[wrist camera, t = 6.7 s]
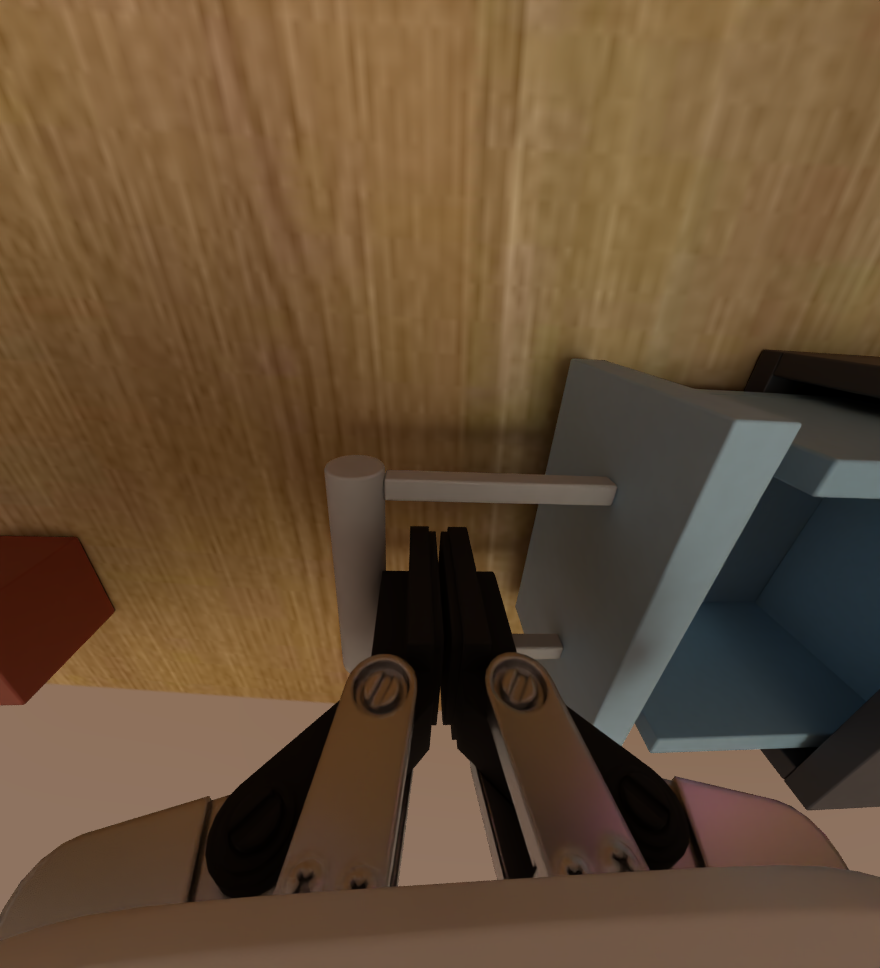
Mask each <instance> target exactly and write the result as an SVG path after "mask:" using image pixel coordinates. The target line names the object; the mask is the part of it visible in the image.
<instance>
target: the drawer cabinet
mask: <svg viewBox="0 0 880 968" xmlns="http://www.w3.org/2000/svg"><path fill="white" fill-rule="evenodd" d="M744 392H761V393H780V394H798V395H816V396H835V397H853V398H871V399H880V357H872V356H857V355H842V354H827V353H811V352H796V351H781V350H766V349H765V350H763V351H762V353H761V356H760V358H759V360H758V362H757V364H756V366H755V369H754V371H753V373H752V375H751V377H750V379H749V382H748V384H747V386H746V388H745V390H744ZM760 750H761V751H762V752H763V754H764V755H765V756H766V757H767V759H768V760H769V761H770V763H771V764H772V765H773V767H774V768H775V769H776V771H777V772H778V773H779V774H780V776H781V777H782V778H783V779H785V780H784V781H785V783H786V784H787V785H788V786H789V788H790V789H791V790H792V792H793V793H794V794H795V796H796V797H797V798H798V800H799V801H800V802H801V803H802V804H803V806H804V807H805V809H806V810H825V809H844V808H863V807H880V689H879V690H878V691H877V692H876V693H875V694H874V695H873V696H872V697H871V698H870V699H868V700H867V701H866V702H865V703H864V704H863V705H862V706H861V707H860V708H859V709H858V710H857V711H856V712H855V713H854V714H853V715H852V716H851V717H850V718H849V719H848V720H846V721H845V722H844V723H843V724H842V725H841V726H840V727H839V728H838V729H837V730H836V731H835V732H834V733H833V734H832V735H831V736H830V737H829V738H828V739H827V740H826V741H824V742H823V743H822V744H821V745H820V746H819V747H805V748H778V749H760Z"/></svg>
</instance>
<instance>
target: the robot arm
mask: <svg viewBox="0 0 880 968" xmlns="http://www.w3.org/2000/svg"><path fill="white" fill-rule="evenodd" d="M440 688H441V705H442V720H443V725H451V733H452V740H457V748H458V749H459V750H460V751H461V752H462V753H463V754H464V755H465V756H466V757H467V758H468V759H469V760H470V768H471V773H472V777H473V781H474V786H475V790H476V794H477V798H478V802H479V806H480V810H481V815H482V819H483V823H484V827H485V831H486V835H487V839H488V844H489V847H490V852H491V856H492V860H493V864H494V869H495V873H496V876H497V880H492V881H476V882H462V883H461V882H460V883H446V884H432V885H414V886H399V887H398V881H399V874H400V866H401V858H402V851H403V844H404V836H405V829H406V821H407V814H408V807H409V799H410V791H411V784H412V776H413V768H414V767H415V766H416V765H417V763H418V762H419V761H420V760H421V759H422V757H423V756H424V755H425V753H426V752H427V751H428V750H429V747H430V736H431V725H436V724H437V714H438V704H439V694H440ZM0 968H880V877H877V876H874V875H869V874H865V873H862V872H858V871H851V870H849V869H848V868H847V866H846V864H845V863H844V861H843V859H842V857H841V856H840V854H839V853H838V851H837V850H836V849H835V847H834V846H833V845H832V843H831V842H830V841H829V839H828V838H827V836H826V835H825V834H824V833H823V832H822V831H821V830H820V829H819V828H818V827H817V826H816V825H815V824H814V823H813V822H812V821H811V820H810V819H809V818H807V817H806V816H805V815H803V814H802V813H800V812H799V811H797V810H796V809H795V808H793V807H792V806H790V805H787V804H785V803H782V802H780V801H777V800H774V799H770V798H766V797H761V796H756V795H753V794H748V793H744V792H740V791H736V790H731V789H727V788H723V787H718V786H714V785H710V784H706V783H702V782H697V781H693V780H689V779H684V778H680V777H676V776H675V777H674V778H673V779H672V781H671V780H667V779H663V778H661V777H660V776H659V775H658V774H657V773H656V772H655V771H654V770H652V769H651V768H650V767H649V766H647V765H646V764H644V763H643V762H641V761H640V760H639V759H638V758H636V757H635V756H634V755H632V754H631V753H630V752H628V751H627V750H626V749H624V748H623V747H622V746H620V745H619V744H618V743H616V742H615V741H614V740H612V739H611V738H610V737H608V736H607V735H606V734H604V733H603V732H601V731H600V730H599V729H597V728H596V727H595V726H593V725H592V724H591V723H589V722H588V721H587V720H585V719H584V718H583V717H581V716H580V715H579V714H577V713H576V712H575V711H573V710H572V709H571V708H569V707H568V706H567V705H565V703H564V701H563V699H562V697H561V695H560V693H559V691H558V689H557V687H556V685H555V683H554V681H553V680H552V678H551V676H550V675H549V673H548V672H547V670H546V669H545V668H544V667H543V666H542V665H541V664H540V663H539V662H538V661H537V660H535V659H533V658H531V657H529V656H528V655H524V654H521V653H517V651H516V647H515V644H514V640H513V637H512V633H511V630H510V626H509V623H508V619H507V615H506V612H505V608H504V605H503V601H502V598H501V594H500V591H499V587H498V584H497V580H496V577H495V574H494V573H493V572H476V567H475V563H474V558H473V553H472V549H471V544H470V540H469V535H468V531H467V528H466V527H448V529H447V532H441V535H440V548H439V562H438V555H437V542H436V532H435V531H429V527H428V526H410V555H409V571H382V576H381V584H380V592H379V599H378V607H377V615H376V622H375V630H374V638H373V646H372V653H371V657H368V658H367V659H365V660H363V661H362V662H360V663H359V664H358V665H357V666H356V667H355V668H354V669H353V670H352V671H351V673H350V675H349V677H348V679H347V681H346V684H345V687H344V690H343V693H342V695H341V698H340V700H339V701H338V702H337V703H336V704H335V705H333V706H332V707H331V708H330V709H329V710H328V711H327V712H325V713H324V714H323V715H322V716H321V717H319V718H318V719H317V720H316V721H315V722H314V723H312V724H311V725H310V726H309V727H308V728H306V729H305V730H304V731H303V732H302V733H301V734H299V735H298V736H297V737H296V738H295V739H294V740H292V741H291V742H290V743H289V744H288V745H286V746H285V747H284V748H283V749H282V750H281V751H279V752H278V753H277V754H276V755H275V756H274V757H272V758H271V759H270V760H269V761H268V762H267V763H265V764H264V765H263V766H262V767H261V768H260V769H258V770H257V771H256V772H255V773H254V774H253V775H251V776H250V777H249V778H248V779H247V780H245V781H244V782H243V783H242V784H241V785H240V786H239V787H238V788H237V789H236V790H235V791H234V792H233V793H232V794H231V795H228V796H225V797H221V798H218V799H215V800H211V798H210V796H207V797H204V798H201V799H197V800H194V801H191V802H188V803H184V804H181V805H178V806H174V807H171V808H168V809H164V810H161V811H158V812H154V813H151V814H148V815H144V816H141V817H138V818H134V819H131V820H128V821H125V822H121V823H118V824H115V825H111V826H108V827H105V828H102V829H98V830H95V831H91V832H88V833H85V834H82V835H80V836H78V837H76V838H73V839H72V840H69V841H67V842H65V843H63V844H61V845H60V846H59V847H57V848H56V849H55V850H53V851H52V852H51V853H50V854H48V855H47V856H46V857H44V858H43V859H42V860H41V861H40V862H39V863H38V864H37V865H36V866H35V867H34V868H33V869H32V870H31V871H30V872H29V873H28V875H26V877H25V878H24V879H23V880H22V881H21V882H20V884H19V885H18V887H17V888H16V890H15V891H14V893H13V894H12V896H11V897H10V899H9V900H8V902H7V904H6V905H5V907H4V909H3V911H2V913H1V914H0Z"/></svg>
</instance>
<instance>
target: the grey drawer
mask: <svg viewBox="0 0 880 968" xmlns="http://www.w3.org/2000/svg"><path fill="white" fill-rule="evenodd" d="M324 471H325V482H326V492H327V502H328V512H329V522H330V532H331V542H332V552H333V563H334V573H335V583H336V593H337V603H338V613H339V623H340V633H341V643H342V654H343V663H344V667H345V668H346V670H347V671H348V672H349V673H351V671H352V670H353V669H354V668H355V667H356V666H357V665H358V664H359V663H360V662H362V661H363V660H365V659H367V658H368V657H371V653H372V646H373V638H374V630H375V622H376V615H377V607H378V599H379V592H380V584H381V576H382V571H386V538H385V500H396V501H436V502H476V503H516V504H538V509H537V513H536V518H535V522H534V527H533V531H532V535H531V540H530V544H529V549H528V553H527V558H526V562H525V567H524V571H523V575H522V580H521V584H520V589H519V593H518V598H517V602H516V610H517V613H518V616H519V619H520V622H521V625H522V628H523V631H524V634H512V637H513V640H514V644H515V647H516V651H517V653H521V654H524V655H528V656H529V657H531V658H533V659H535V660H537V661H538V662H539V663H540V664H541V665H542V666H543V667H544V668H545V669H546V670H547V672H548V673H549V675H550V676H551V678H552V680H553V681H554V683H555V685H556V687H557V689H558V691H559V693H560V695H561V697H562V699H563V701H564V703H565V705H567V706H568V707H569V708H571V709H572V710H573V711H575V712H576V713H577V714H579V715H580V716H581V717H583V718H584V719H585V720H587V721H588V722H589V723H591V724H592V725H593V726H595V727H596V728H597V729H599V730H600V731H601V732H603V733H604V734H606V735H607V736H608V737H610V738H611V739H612V740H614V741H615V742H616V743H618V744H619V745H620V746H622V744H623V743H624V740H625V739H626V737H627V735H628V734H629V732H630V730H631V728H632V727H633V725H634V723H635V724H636V727H637V728H638V730H639V732H640V734H641V736H642V738H643V740H644V742H645V744H646V746H647V748H648V750H649V752H650V753H666V752H691V751H692V752H693V751H720V750H747V749H748V750H749V749H778V748H805V747H819V746H820V745H821V744H822V743H823V742H824V741H826V740H827V739H828V738H829V737H830V736H831V735H832V734H833V733H834V732H835V731H836V730H837V729H838V728H839V727H840V726H841V725H842V724H843V723H844V722H845V721H846V720H848V719H849V718H850V717H851V716H852V715H853V714H854V713H855V712H856V711H857V710H858V709H859V708H860V707H861V706H862V705H863V704H864V703H865V702H866V701H867V700H868V699H870V698H871V697H872V696H873V695H874V694H875V693H876V692H877V691H878V690H879V689H880V399H871V398H853V397H835V396H816V395H798V394H780V393H761V392H743V391H725V390H706V389H693V388H690V387H687V386H684V385H681V384H678V383H674V382H671V381H668V380H665V379H662V378H659V377H655V376H652V375H649V374H646V373H643V372H640V371H636V370H633V369H630V368H627V367H624V366H621V365H617V364H614V363H611V362H608V361H605V360H590V359H571V362H570V367H569V371H568V376H567V380H566V385H565V389H564V393H563V398H562V402H561V407H560V411H559V416H558V420H557V425H556V429H555V433H554V438H553V442H552V447H551V451H550V456H549V460H548V464H547V469H546V473H545V475H535V474H504V473H473V472H442V471H410V470H387V471H386V473H385V467H384V464H383V463H382V462H381V461H380V460H379V459H377V458H374V457H370V456H365V455H348V456H342V457H338V458H336V459H333V460H331V461H330V462H328V463H327V464H326V466H325V469H324Z"/></svg>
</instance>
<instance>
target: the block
mask: <svg viewBox="0 0 880 968" xmlns="http://www.w3.org/2000/svg"><path fill="white" fill-rule="evenodd" d="M114 612H115V610H114V608H113V606H112V604H111V602H110V600H109V599H108V597H107V595H106V593H105V591H104V589H103V587H102V585H101V583H100V581H99V579H98V577H97V575H96V573H95V571H94V569H93V567H92V565H91V563H90V561H89V559H88V557H87V555H86V553H85V551H84V550H83V548H82V546H81V544H80V542H79V540H78V538H77V537H38V536H0V705H24V704H26V703H27V702H28V701H29V699H31V697H32V696H33V695H34V694H35V693H36V692H37V691H38V690H39V689H40V688H41V687H42V686H43V685H44V684H45V683H46V682H47V681H48V680H49V679H50V678H51V677H52V676H53V675H54V674H55V673H56V672H57V671H58V670H59V669H60V668H61V667H62V666H63V665H64V664H65V663H66V661H67V660H68V659H69V658H70V657H71V656H72V655H73V654H74V653H75V652H76V651H77V650H78V649H79V648H80V647H81V646H82V645H83V644H84V643H85V642H86V641H87V640H88V639H89V638H90V637H91V636H92V635H93V634H94V633H95V632H96V631H97V630H98V629H99V628H100V627H101V625H102V624H103V623H104V622H105V621H106V620H107V619H108V618H109V617H110V616H111V615H112V614H113V613H114Z"/></svg>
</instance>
